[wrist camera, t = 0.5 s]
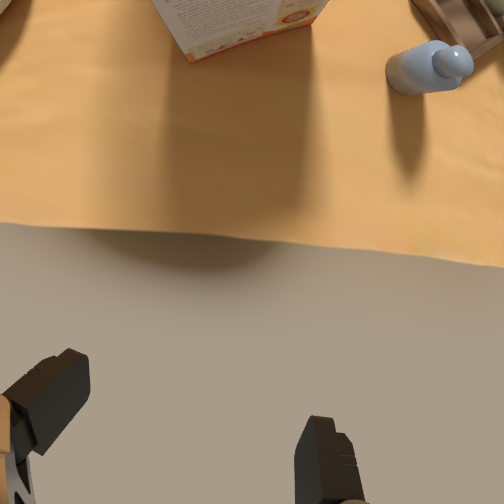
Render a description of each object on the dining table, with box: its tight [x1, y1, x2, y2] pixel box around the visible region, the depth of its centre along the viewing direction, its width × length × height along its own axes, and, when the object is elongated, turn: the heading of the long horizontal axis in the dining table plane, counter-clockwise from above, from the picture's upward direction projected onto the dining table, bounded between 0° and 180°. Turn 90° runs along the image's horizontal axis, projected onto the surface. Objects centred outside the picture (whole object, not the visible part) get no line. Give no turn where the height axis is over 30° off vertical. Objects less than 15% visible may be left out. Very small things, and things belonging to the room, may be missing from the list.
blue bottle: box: [385, 40, 474, 96], centre depth 24 cm, size 5×5×11 cm
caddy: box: [412, 0, 504, 61], centre depth 24 cm, size 11×21×3 cm, turn 128°
